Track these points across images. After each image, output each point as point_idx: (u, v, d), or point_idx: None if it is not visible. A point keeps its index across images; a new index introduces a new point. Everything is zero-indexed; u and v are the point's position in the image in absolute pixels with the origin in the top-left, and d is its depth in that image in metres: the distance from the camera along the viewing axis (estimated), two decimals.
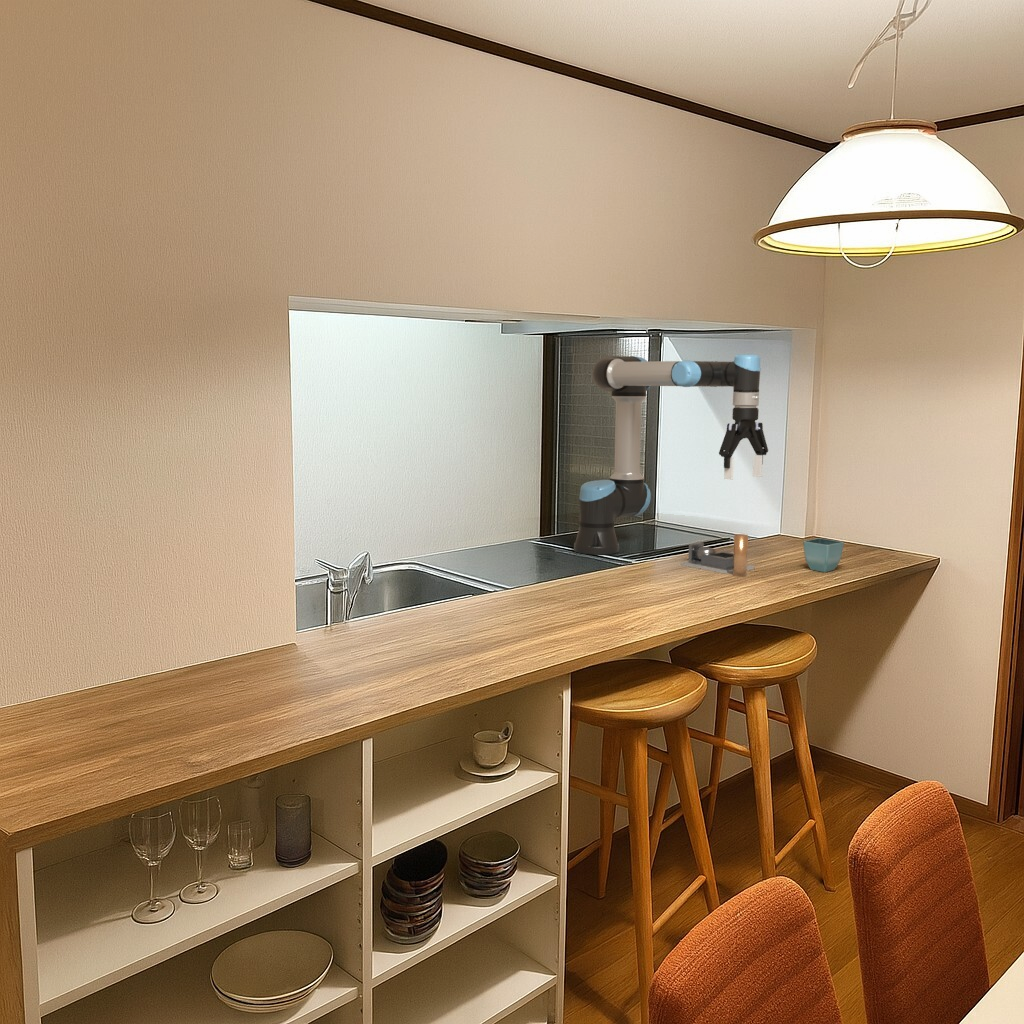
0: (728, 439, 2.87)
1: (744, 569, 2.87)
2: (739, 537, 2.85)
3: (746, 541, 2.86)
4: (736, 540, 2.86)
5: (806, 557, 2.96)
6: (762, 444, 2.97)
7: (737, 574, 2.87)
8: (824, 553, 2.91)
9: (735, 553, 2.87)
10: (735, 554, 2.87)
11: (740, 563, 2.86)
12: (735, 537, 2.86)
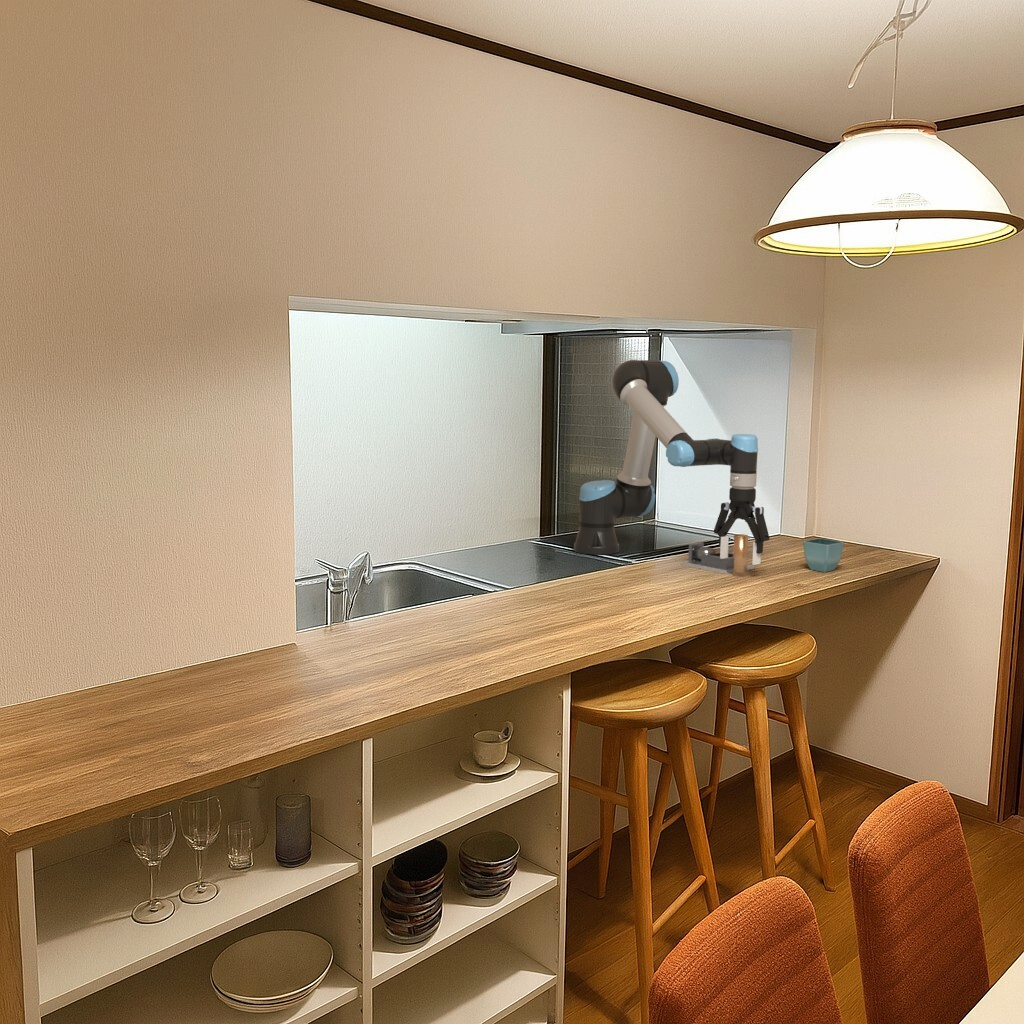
0: None
1: (744, 569, 2.87)
2: (739, 537, 2.85)
3: (746, 541, 2.86)
4: (736, 540, 2.86)
5: (806, 557, 2.96)
6: None
7: (737, 574, 2.87)
8: (824, 553, 2.91)
9: (735, 553, 2.87)
10: (735, 554, 2.87)
11: (740, 563, 2.86)
12: (735, 537, 2.86)
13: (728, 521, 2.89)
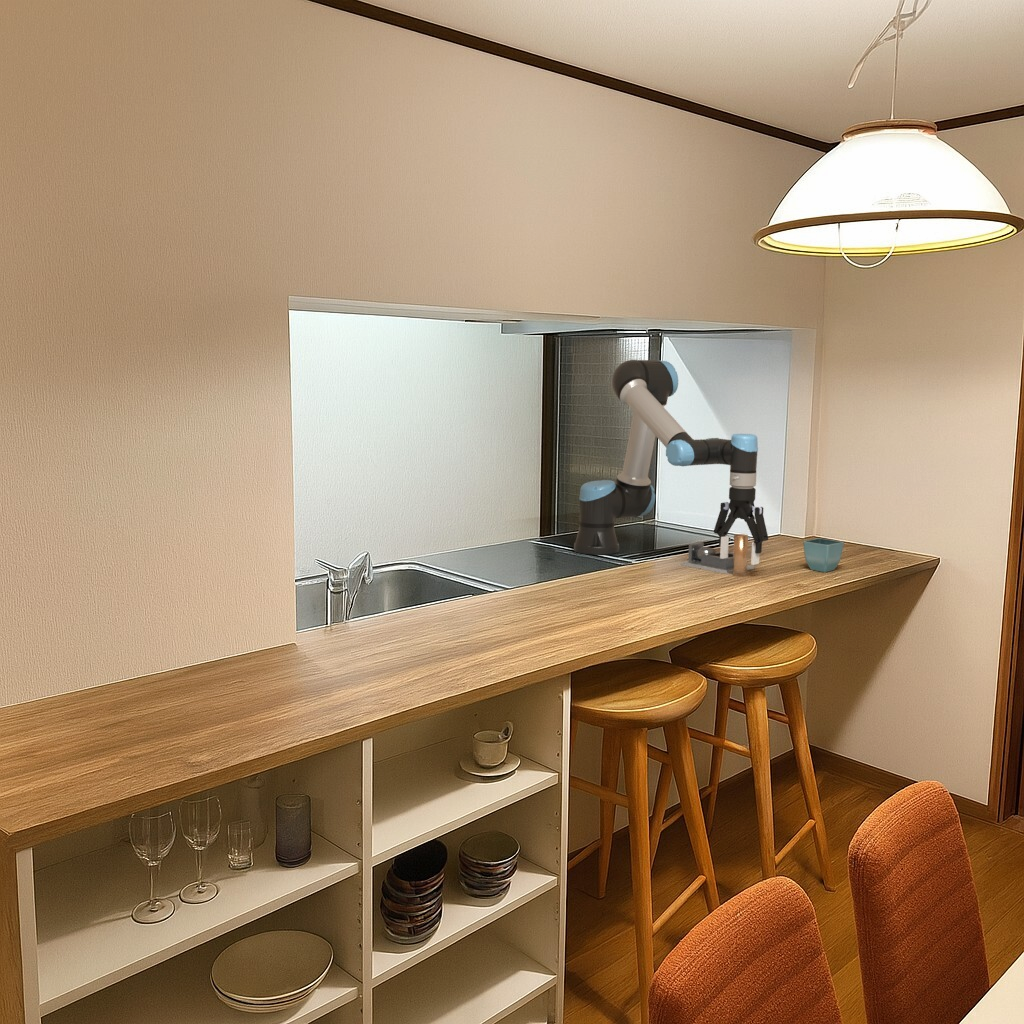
0: None
1: (744, 569, 2.87)
2: (739, 537, 2.85)
3: (746, 541, 2.86)
4: (736, 540, 2.86)
5: (806, 557, 2.96)
6: None
7: (737, 574, 2.87)
8: (824, 553, 2.91)
9: (735, 553, 2.87)
10: (735, 554, 2.87)
11: (740, 563, 2.86)
12: (735, 537, 2.86)
13: (728, 521, 2.89)
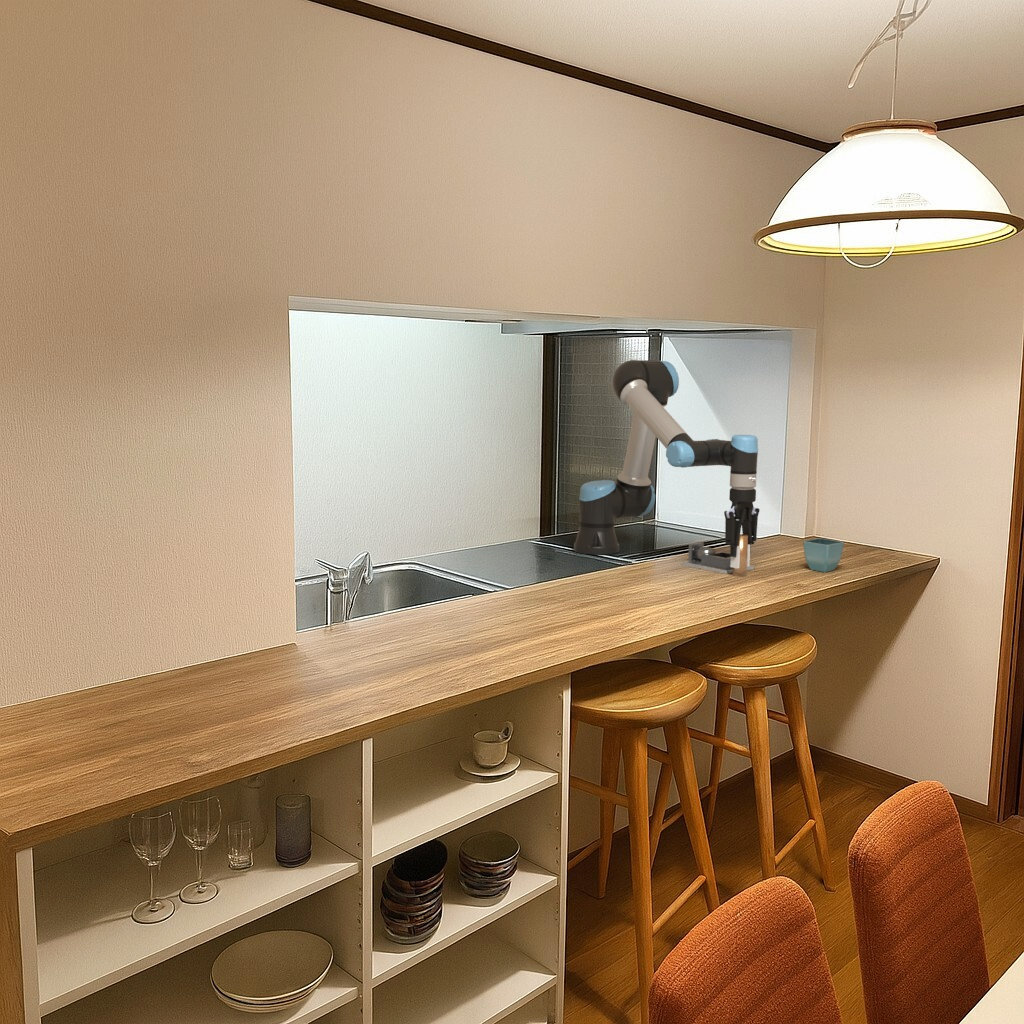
0: (730, 528, 2.83)
1: (744, 569, 2.87)
2: (739, 537, 2.85)
3: (746, 541, 2.86)
4: None
5: (806, 557, 2.96)
6: (752, 531, 2.89)
7: (737, 574, 2.87)
8: (824, 553, 2.91)
9: None
10: None
11: (740, 563, 2.86)
12: None
13: (740, 526, 2.84)
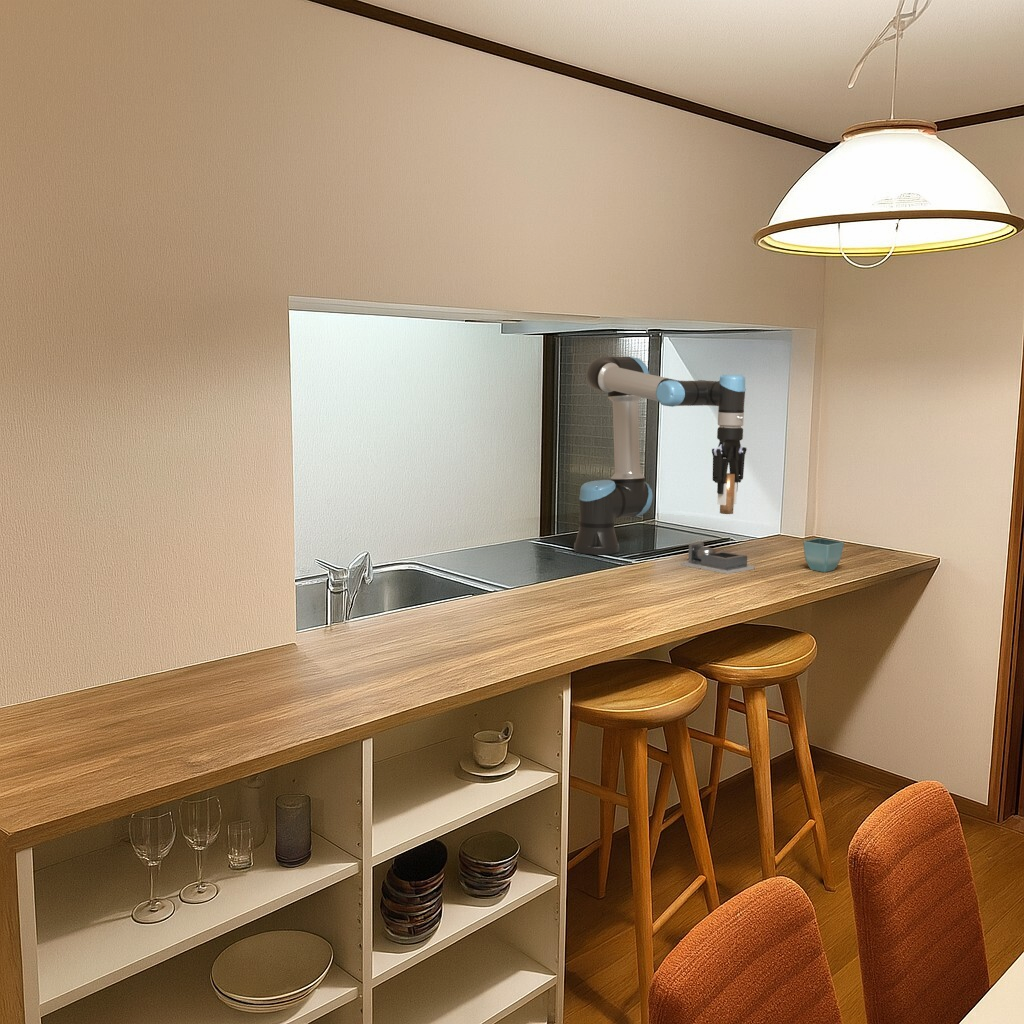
0: (717, 465, 2.90)
1: (731, 507, 2.94)
2: (726, 475, 2.93)
3: (733, 479, 2.93)
4: None
5: (806, 557, 2.96)
6: (739, 469, 2.96)
7: (724, 512, 2.94)
8: (824, 553, 2.91)
9: None
10: None
11: (727, 501, 2.94)
12: None
13: (727, 464, 2.92)
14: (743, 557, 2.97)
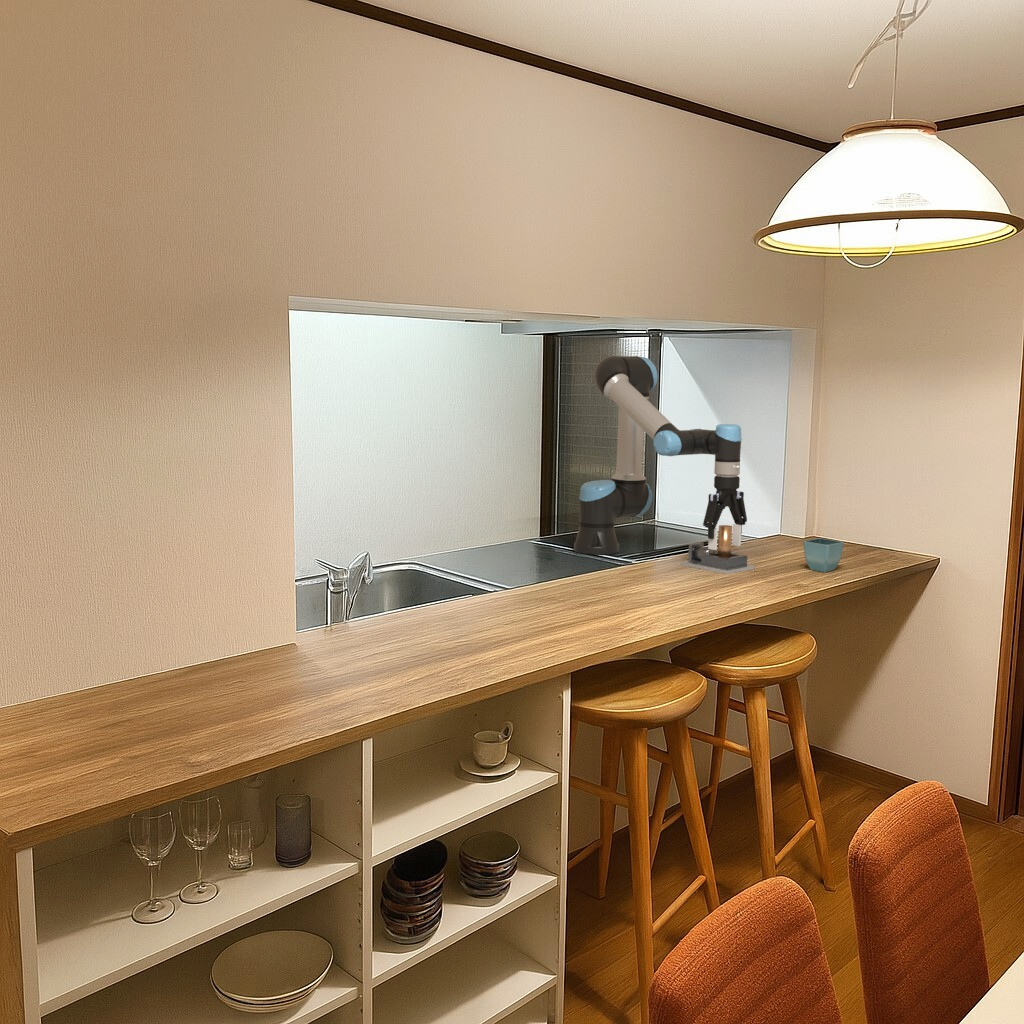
0: (711, 510, 2.92)
1: None
2: (723, 528, 2.96)
3: (730, 532, 2.96)
4: (720, 531, 2.97)
5: (806, 557, 2.96)
6: (742, 513, 3.01)
7: None
8: (824, 553, 2.91)
9: (719, 543, 2.97)
10: (719, 544, 2.97)
11: (724, 553, 2.97)
12: (719, 528, 2.97)
13: (721, 511, 2.94)
14: (743, 557, 2.97)
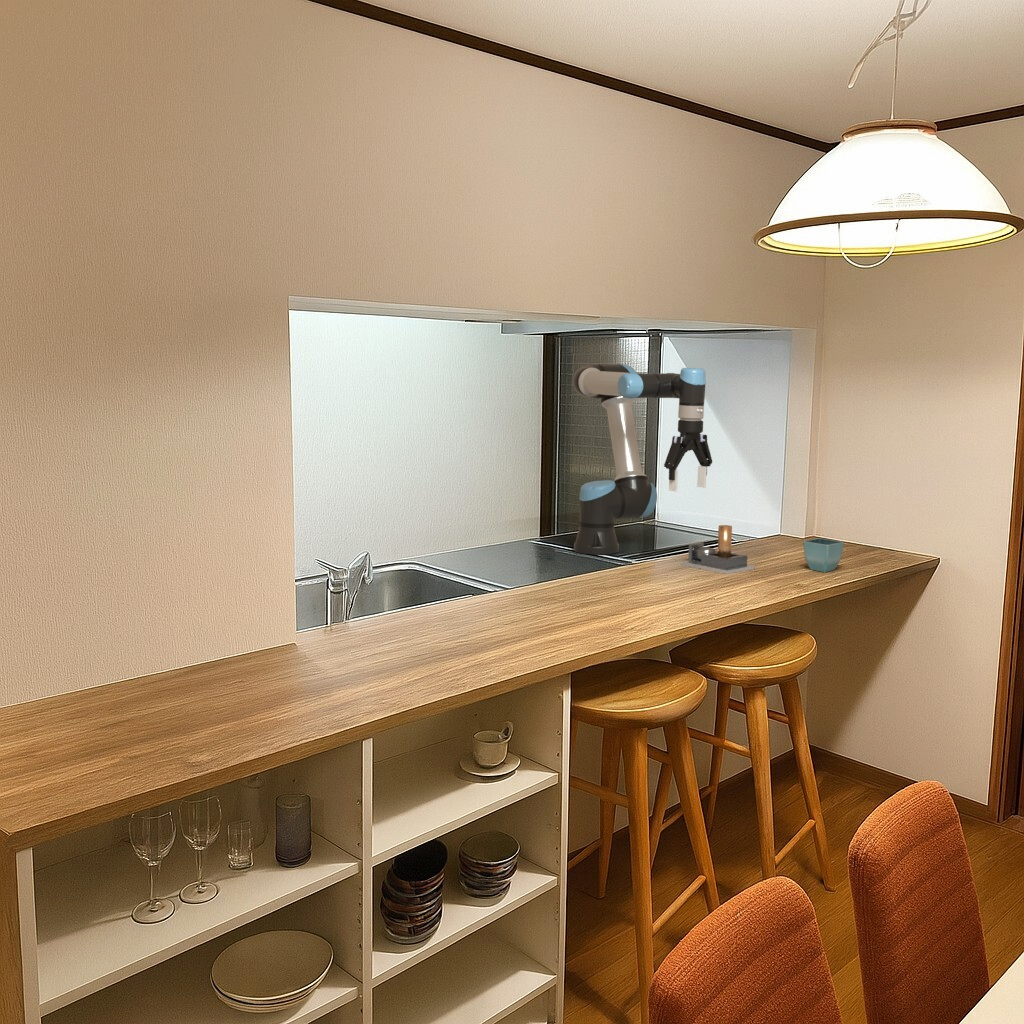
0: (673, 452, 2.91)
1: None
2: (723, 528, 2.96)
3: (730, 532, 2.96)
4: (720, 531, 2.97)
5: (806, 557, 2.96)
6: (706, 455, 3.02)
7: None
8: (824, 553, 2.91)
9: (719, 543, 2.97)
10: (719, 544, 2.97)
11: (724, 553, 2.97)
12: (719, 528, 2.97)
13: (683, 454, 2.93)
14: (743, 557, 2.97)
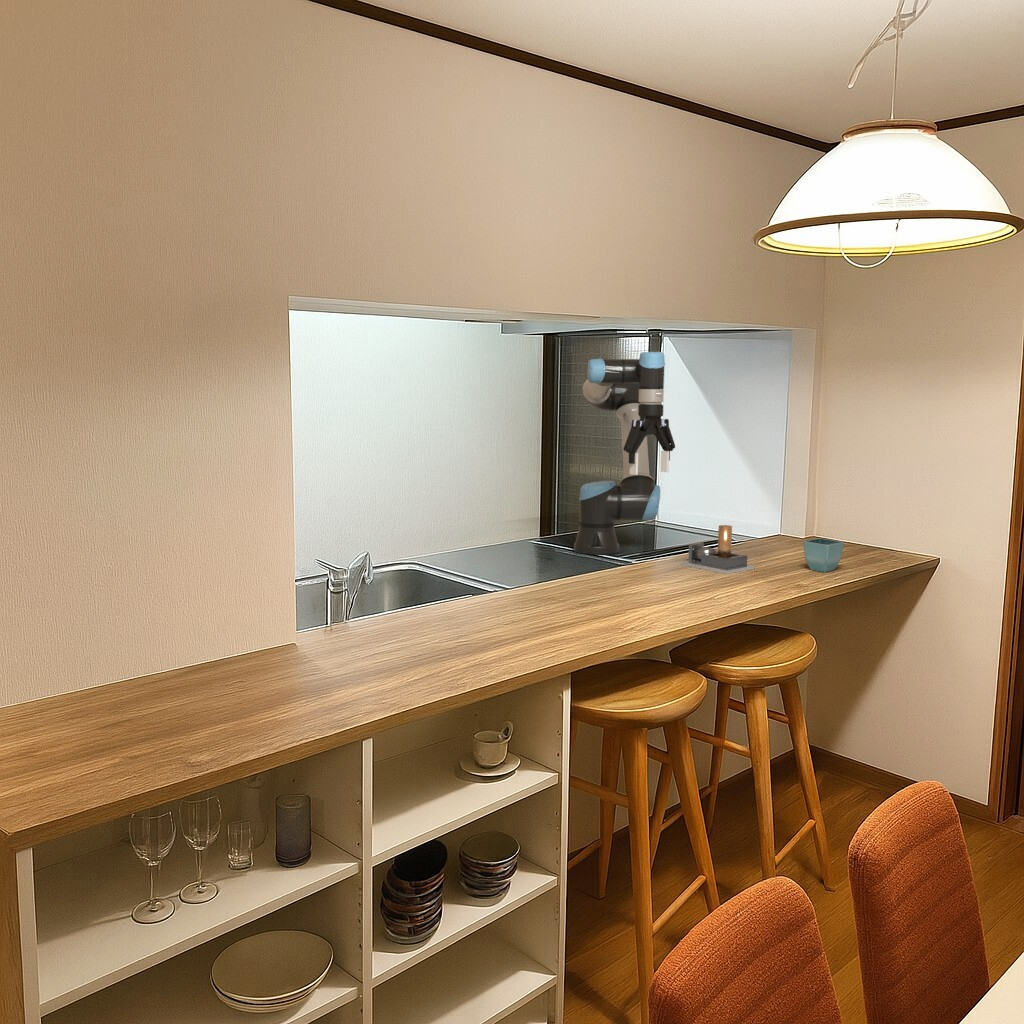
0: (632, 435, 2.92)
1: None
2: (723, 528, 2.96)
3: (730, 532, 2.96)
4: (720, 531, 2.97)
5: (806, 557, 2.96)
6: (669, 440, 3.02)
7: None
8: (824, 553, 2.91)
9: (719, 543, 2.97)
10: (719, 544, 2.97)
11: (724, 553, 2.97)
12: (719, 528, 2.97)
13: (643, 437, 2.94)
14: (743, 557, 2.97)
